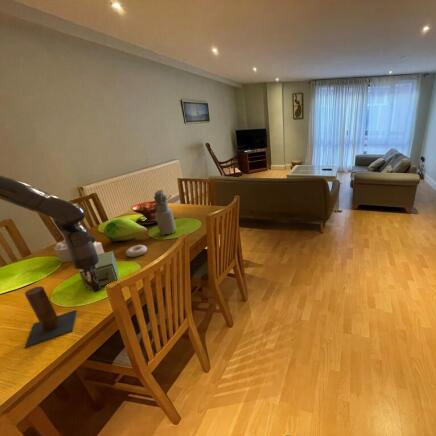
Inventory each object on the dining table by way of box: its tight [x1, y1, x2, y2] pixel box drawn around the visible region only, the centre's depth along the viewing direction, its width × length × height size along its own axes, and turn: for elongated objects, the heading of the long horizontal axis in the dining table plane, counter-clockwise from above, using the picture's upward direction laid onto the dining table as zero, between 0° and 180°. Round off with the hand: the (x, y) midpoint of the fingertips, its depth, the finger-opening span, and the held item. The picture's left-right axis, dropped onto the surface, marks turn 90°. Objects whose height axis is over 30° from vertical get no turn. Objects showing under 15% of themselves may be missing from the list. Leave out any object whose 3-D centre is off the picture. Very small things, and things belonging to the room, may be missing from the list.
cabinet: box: [78, 250, 119, 291], centre depth 111 cm, size 14×12×10 cm
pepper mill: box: [24, 286, 61, 332], centre depth 83 cm, size 4×4×16 cm
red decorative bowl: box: [130, 195, 172, 225], centre depth 176 cm, size 28×24×16 cm
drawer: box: [81, 265, 117, 290], centre depth 108 cm, size 17×10×8 cm, turn 35°
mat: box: [24, 309, 78, 349], centre depth 86 cm, size 12×12×1 cm
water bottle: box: [153, 189, 177, 236], centre depth 154 cm, size 10×10×28 cm
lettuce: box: [103, 217, 148, 243], centre depth 148 cm, size 15×22×15 cm
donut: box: [125, 244, 148, 258], centre depth 133 cm, size 10×3×10 cm
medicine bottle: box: [89, 234, 105, 255], centre depth 129 cm, size 7×7×12 cm
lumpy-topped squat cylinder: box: [53, 239, 72, 263], centre depth 130 cm, size 10×13×9 cm
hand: (97, 290), depth 97 cm, fingers closed
